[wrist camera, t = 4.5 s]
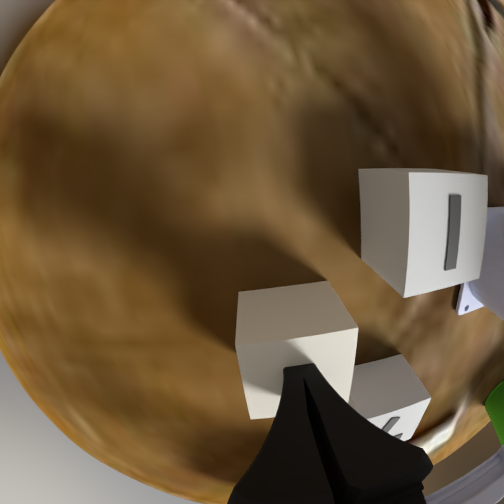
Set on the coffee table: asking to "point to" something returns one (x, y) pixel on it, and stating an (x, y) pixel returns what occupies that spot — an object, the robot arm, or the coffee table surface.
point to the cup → (497, 410)
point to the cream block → (292, 340)
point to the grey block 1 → (423, 226)
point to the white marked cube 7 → (389, 395)
